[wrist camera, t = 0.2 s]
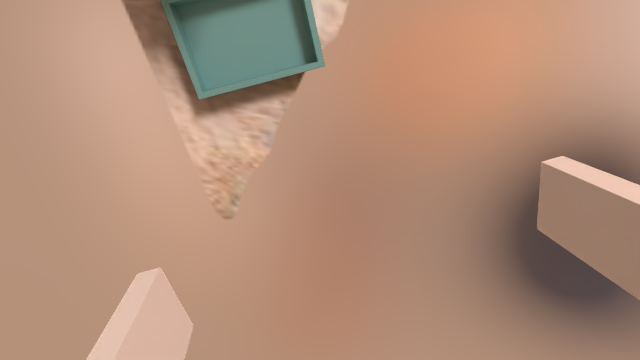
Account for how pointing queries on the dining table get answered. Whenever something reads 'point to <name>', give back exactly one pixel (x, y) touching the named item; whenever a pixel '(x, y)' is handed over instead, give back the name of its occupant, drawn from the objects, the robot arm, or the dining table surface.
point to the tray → (243, 41)
